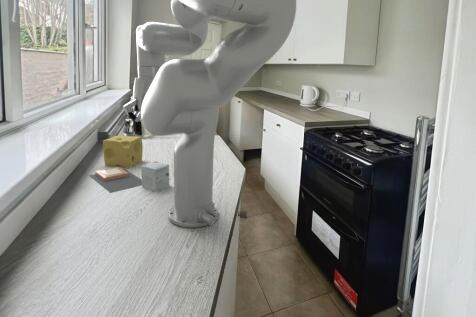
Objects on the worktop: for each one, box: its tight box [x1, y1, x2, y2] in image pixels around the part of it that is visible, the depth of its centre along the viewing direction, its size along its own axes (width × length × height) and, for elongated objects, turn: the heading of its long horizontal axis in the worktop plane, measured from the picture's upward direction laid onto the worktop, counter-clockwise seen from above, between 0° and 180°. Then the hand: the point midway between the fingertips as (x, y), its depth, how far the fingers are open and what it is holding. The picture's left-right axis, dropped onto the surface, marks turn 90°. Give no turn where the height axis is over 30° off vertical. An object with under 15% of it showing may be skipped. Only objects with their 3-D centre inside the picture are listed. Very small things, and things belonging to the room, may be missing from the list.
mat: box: [88, 168, 142, 194], centre depth 99 cm, size 18×12×1 cm, turn 44°
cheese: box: [102, 134, 144, 169], centre depth 115 cm, size 10×11×10 cm
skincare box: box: [140, 161, 170, 192], centre depth 94 cm, size 6×6×7 cm
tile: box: [94, 166, 129, 181], centre depth 102 cm, size 1×8×8 cm
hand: (153, 132), depth 91 cm, fingers open, 9 cm apart
